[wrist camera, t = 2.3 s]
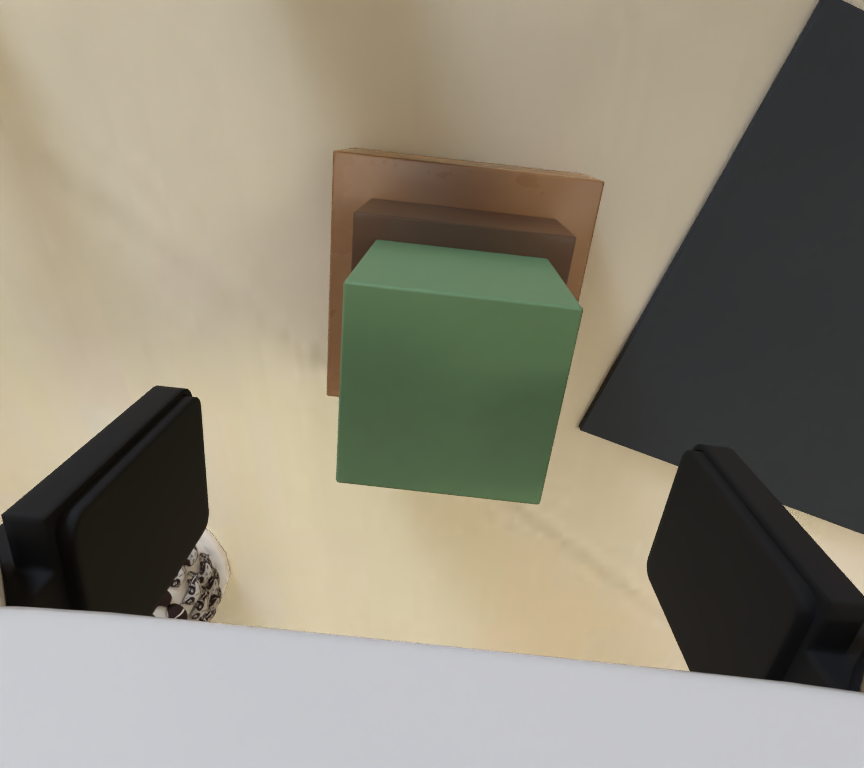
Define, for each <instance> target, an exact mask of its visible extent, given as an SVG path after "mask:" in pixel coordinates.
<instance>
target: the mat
mask: <svg viewBox="0 0 864 768" xmlns="http://www.w3.org/2000/svg"><path fill="white" fill-rule="evenodd" d="M579 428H580V430H581V431H584V432H587V433H590V434H592V435H595V436H598V437H601V438H603V439H606V440H609V441H611V442H614V443H617V444H620V445H622V446H625V447H628V448H630V449H633V450H636V451H639V452H641V453H644V454H647V455H649V456H652V457H655V458H658V459H660V460H663V461H666V462H668V463H671V464H674V465H677V466H679V464H680V461H681V458H682V456H683V454H684V452H685V451H687V450H691V451H692V449H693V448H694V447H695V446H696V445H698V444H704V445H713V446H722V447H730V448H731V449H733V450H734V451H735V453H736V454H737V455H738V456H739V457H740V458H741V459H742V460H743V461H744V463H745V464H746V465H747V466H748V467H749V468H750V469H751V470H752V472H753V473H754V474H755V475H756V476H757V477H758V478H759V479H760V480H761V482H762V483H763V484H764V485H765V486H766V487H767V488H768V489H769V491H770V492H771V493H772V494H773V495H774V496H775V497H776V498H777V499H778V501H779V502H780V503H781V504H783V505H785V506H788V507H791V508H794V509H796V510H799V511H802V512H804V513H807V514H810V515H813V516H815V517H818V518H821V519H823V520H826V521H829V522H832V523H834V524H837V525H840V526H842V527H845V528H848V529H851V530H853V531H856V532H859V533H861V534H864V11H863V10H861V9H859V8H857V7H855V6H853V5H851V4H849V3H847V2H845V1H843V0H820V2H819V4H818V5H817V7H816V9H815V11H814V13H813V14H812V16H811V18H810V20H809V21H808V23H807V25H806V27H805V28H804V30H803V32H802V34H801V35H800V37H799V39H798V41H797V43H796V44H795V46H794V48H793V50H792V51H791V53H790V55H789V57H788V58H787V60H786V62H785V64H784V65H783V67H782V69H781V71H780V73H779V74H778V76H777V78H776V80H775V81H774V83H773V85H772V87H771V88H770V90H769V92H768V94H767V96H766V97H765V99H764V101H763V103H762V104H761V106H760V108H759V110H758V111H757V113H756V115H755V117H754V118H753V120H752V122H751V124H750V126H749V127H748V129H747V131H746V133H745V134H744V136H743V138H742V140H741V141H740V143H739V145H738V147H737V148H736V150H735V152H734V154H733V156H732V157H731V159H730V161H729V163H728V164H727V166H726V168H725V170H724V171H723V173H722V175H721V177H720V178H719V180H718V182H717V184H716V186H715V187H714V189H713V191H712V193H711V194H710V196H709V198H708V200H707V201H706V203H705V205H704V207H703V208H702V210H701V212H700V214H699V216H698V217H697V219H696V221H695V223H694V224H693V226H692V228H691V230H690V231H689V233H688V235H687V237H686V239H685V240H684V242H683V244H682V246H681V247H680V249H679V251H678V253H677V254H676V256H675V258H674V260H673V261H672V263H671V265H670V267H669V269H668V270H667V272H666V274H665V276H664V277H663V279H662V281H661V283H660V284H659V286H658V288H657V290H656V291H655V293H654V295H653V297H652V299H651V300H650V302H649V304H648V306H647V307H646V309H645V311H644V313H643V314H642V316H641V318H640V320H639V321H638V323H637V325H636V327H635V329H634V330H633V332H632V334H631V336H630V337H629V339H628V341H627V343H626V344H625V346H624V348H623V350H622V352H621V353H620V355H619V357H618V359H617V360H616V362H615V364H614V366H613V367H612V369H611V371H610V373H609V374H608V376H607V378H606V380H605V382H604V383H603V385H602V387H601V389H600V390H599V392H598V394H597V396H596V397H595V399H594V401H593V403H592V404H591V406H590V408H589V410H588V412H587V413H586V415H585V417H584V419H583V420H582V422H581V424H580V426H579Z"/></svg>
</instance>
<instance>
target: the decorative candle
mask: <svg viewBox="0 0 864 768" xmlns="http://www.w3.org/2000/svg"><path fill="white" fill-rule="evenodd" d="M229 577H230V571H229V566H228V561H227V556H226V553H225V552H224V550H223V549H222V547H221V546H220V544H219V543H218V542H217V540H216V539H215V537H214V536H213V534H212V533H211V532H209V531H208V530H206V529H205V531H204V533H203V534H202V536H201V538H200V539H199V541H198V542H197V544H196V546H195V547H194V549H193V550H192V552H191V554H190V555H189V557H188V558H187V560H186V562H185V563H184V565H183V566H182V568H181V570H180V571H179V573H178V574H177V576H176V578H175V579H174V581H173V582H172V584H171V585H170V587H169V589H168V590H167V592H166V593H165V595H164V597H163V598H162V600H161V601H160V603H159V605H158V606H157V608H156V609H155V611H154V613H153V614H152V617H162V618H173V619H183V620H193V621H203V622H210V620H211V619H212V618H213V616H214V615H215V613H216V607H217V606H218V604H219V603H220V601H221V597H222V596H223V594H224V592H225V589H226V586H227V583H228V580H229Z"/></svg>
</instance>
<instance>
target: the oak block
mask: <svg viewBox="0 0 864 768" xmlns="http://www.w3.org/2000/svg"><path fill="white" fill-rule="evenodd" d="M603 186H604V181H602V180H599V179H596V178H593V177H590V176H587V175H584V174H579V173H570V172H562V171H553V170H544V169H535V168H526V167H518V166H509V165H500V164H491V163H482V162H473V161H465V160H456V159H447V158H438V157H429V156H421V155H412V154H403V153H394V152H385V151H376V150H368V149H359V148H349V149H343V150H336V151H334V152H333V182H332V218H331V255H330V291H329V327H328V364H327V395H328V396H337V397H339V390H340V364H341V338H342V311H343V285H344V282H345V280H346V279H347V278H348V276H349V275H350V274H351V257H352V234H353V213H354V212H355V211H356V210H357V209H359V208H360V207H361V206H362V205H364V204H365V203H366V202H368V201H369V200H370V199H372V198H375V199H384V200H393V201H402V202H411V203H420V204H428V205H437V206H446V207H455V208H464V209H473V210H481V211H490V212H499V213H508V214H517V215H526V216H534V217H543V218H552V219H556V220H557V221H559V222H560V223H561V224H562V225H563V226H564V227H565V228H566V229H568V230H569V231H570V232H571V233H572V234H573V235H574V236H575V237H576V243H575V247H574V252H573V257H572V262H571V267H570V272H569V276H568V281H567V287H568V288H569V290H570V291H571V293H572V294H573V296H574V297H575V298H576V300H577V301H579V296H580V291H581V287H582V282H583V278H584V273H585V269H586V264H587V259H588V255H589V250H590V246H591V241H592V237H593V232H594V227H595V223H596V218H597V214H598V209H599V205H600V200H601V195H602V191H603Z"/></svg>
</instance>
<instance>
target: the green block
mask: <svg viewBox="0 0 864 768" xmlns="http://www.w3.org/2000/svg"><path fill="white" fill-rule="evenodd" d="M582 312H583V308H582V307H581V305H580V304H579V303H578V301H577V300H576V298H575V297H574V296H573V294H572V293H571V291H570V290H569V288H568V287H567V286H566V284H565V283H564V281H563V280H562V279H561V277H560V276H559V274H558V273H557V271H556V270H555V269H554V267H553V266H552V264H551V263H550V262H549V260H548V259H546V258H537V257H528V256H519V255H510V254H501V253H493V252H484V251H475V250H466V249H457V248H448V247H439V246H431V245H422V244H413V243H404V242H395V241H386V240H376V241H375V242H374V244H373V245H372V246H371V247H370V249H369V250H368V251H367V253H366V254H365V255H364V257H363V258H362V259H361V261H360V262H359V263H358V265H357V266H356V267H355V268H354V270H353V271H352V272H351V274H350V275H349V276H348V278H347V279H346V280H345V282H344V285H343V311H342V338H341V364H340V390H339V417H338V443H337V469H336V480H337V482H340V483H349V484H358V485H367V486H376V487H385V488H394V489H403V490H412V491H421V492H430V493H439V494H448V495H457V496H466V497H475V498H484V499H493V500H502V501H511V502H520V503H529V504H539V503H540V500H541V496H542V491H543V487H544V482H545V478H546V473H547V469H548V464H549V460H550V455H551V451H552V447H553V442H554V438H555V433H556V429H557V424H558V420H559V415H560V411H561V406H562V402H563V397H564V393H565V388H566V384H567V379H568V375H569V371H570V366H571V362H572V357H573V353H574V348H575V344H576V339H577V335H578V330H579V326H580V321H581V317H582Z"/></svg>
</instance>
